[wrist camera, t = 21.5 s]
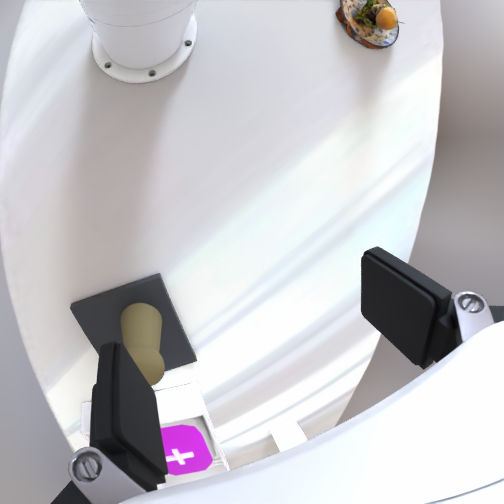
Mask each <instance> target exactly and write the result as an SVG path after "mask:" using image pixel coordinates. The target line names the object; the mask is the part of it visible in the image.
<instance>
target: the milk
mask: <svg viewBox="0 0 504 504" xmlns="http://www.w3.org/2000/svg"><path fill="white" fill-rule="evenodd" d="M270 431H271V433H272V435H273V437H274V439H275V441H276V443H277V446H278V448H279V450H280V452H282V451H284V450H287V449H289V448H292V447H294V446H296V445H298V444H301V443H303V442H305V441H307V438H306V436H305V435H304V433H303V431H302V429H301V428H300V426H299V425H298V424H297V423H296V422H295V421H294V420H293V419H292V418H289V419H287V420H285V421H284V422H282V423H280V424H278V425H276V426H275V427H273V428H271V429H270Z"/></svg>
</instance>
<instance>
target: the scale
mask: <svg viewBox="0 0 504 504" xmlns="http://www.w3.org/2000/svg"><path fill="white" fill-rule="evenodd" d="M136 303H145V304H149V305H151V306H153V307H154V308H156V309H157V310H158V311H159V313H160V314H161V317H162V329H161V339H160V350H159V353H160V355H161V356H162V358H163V361H164V364H165V371H168V370H171V369H174V368H177V367H180V366H183V365H186V364H190V363H193V362H196V361H197V359H196V356H195V353H194V351H193V349H192V347H191V345H190V343H189V341H188V338H187V336H186V334H185V332H184V330H183V327H182V325H181V323H180V321H179V318H178V316H177V314H176V312H175V309H174V307H173V305H172V302H171V300H170V297H169V295H168V293H167V290H166V288H165V285H164V283H163V280H162V278H161V275H160V274H156V275H153V276H150V277H148V278H145V279H142V280H139V281H136V282H133V283H130V284H127V285H124V286H121V287H118V288H116V289H113V290H110V291H107V292H104V293H101V294H98V295H95V296H93V297H90V298H87V299H84V300H81V301H78V302H75V303H73V304H71V307H70V309H71V311H72V313H73V314H74V316H75V318H76V320H77V321H78V323H79V325H80V326H81V328H82V330H83V331H84V333H85V334H86V336H87V338H88V339H89V341H90V342H91V344H92V345H93V347H94V348H95V350H96V352H97V353H98V355H99V354H100V347H101V345H102V344H105V343H108V342H111V341H117V342H118V343H123V337H122V329H121V315H122V312H123V311H124V310H125V309H126V308H127V307H128V306H130V305H132V304H136ZM123 344H124V343H123Z"/></svg>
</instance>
